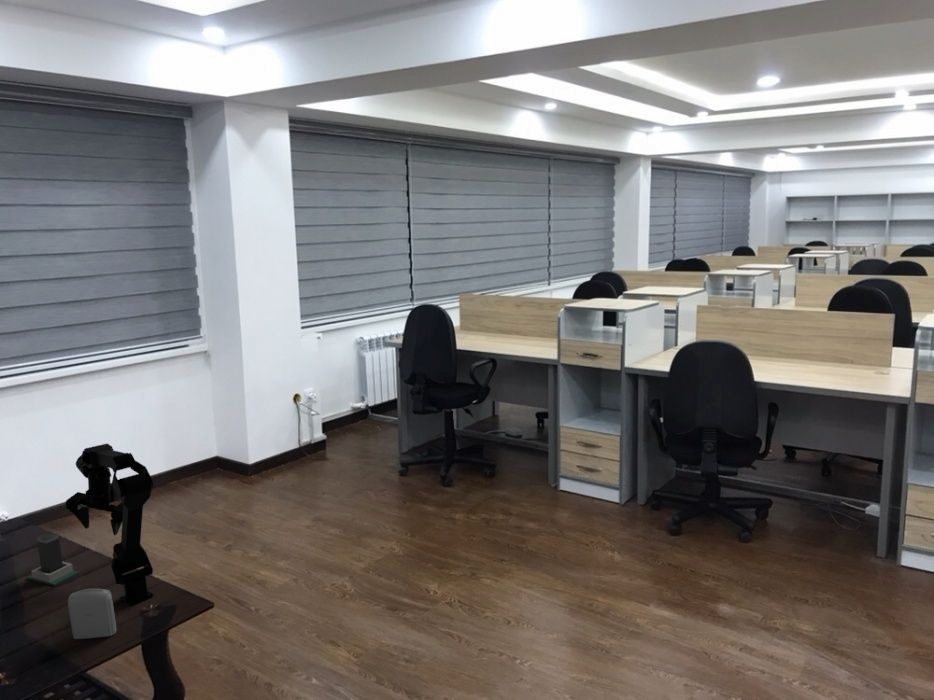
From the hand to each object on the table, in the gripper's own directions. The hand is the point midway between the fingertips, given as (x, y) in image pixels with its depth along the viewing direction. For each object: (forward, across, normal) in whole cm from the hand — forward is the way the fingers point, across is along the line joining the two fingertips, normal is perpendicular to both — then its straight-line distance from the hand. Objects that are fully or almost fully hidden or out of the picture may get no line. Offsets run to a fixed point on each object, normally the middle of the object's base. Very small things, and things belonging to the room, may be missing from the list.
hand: (101, 531), depth 219 cm
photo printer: (+6, -20, +32) cm, 38 cm away
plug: (+14, +12, +6) cm, 20 cm away
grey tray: (+15, +12, +6) cm, 20 cm away
